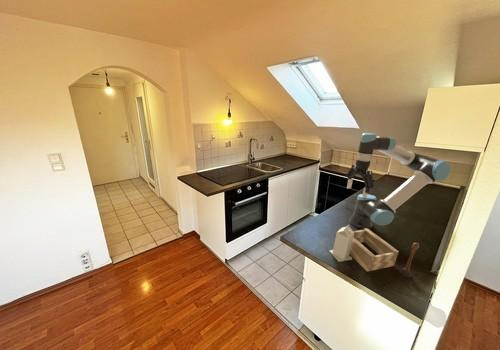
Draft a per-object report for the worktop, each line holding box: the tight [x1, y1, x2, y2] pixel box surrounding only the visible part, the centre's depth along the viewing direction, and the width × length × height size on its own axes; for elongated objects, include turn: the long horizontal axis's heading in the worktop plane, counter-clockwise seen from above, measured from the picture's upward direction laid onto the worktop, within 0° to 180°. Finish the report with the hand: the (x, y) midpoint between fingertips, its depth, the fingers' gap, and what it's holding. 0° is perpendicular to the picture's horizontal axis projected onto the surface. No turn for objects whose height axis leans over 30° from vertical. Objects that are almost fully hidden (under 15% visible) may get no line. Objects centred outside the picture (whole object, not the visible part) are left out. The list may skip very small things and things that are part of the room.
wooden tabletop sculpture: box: [399, 242, 420, 279], centre depth 106 cm, size 6×5×20 cm
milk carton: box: [331, 224, 354, 260], centre depth 118 cm, size 7×7×19 cm
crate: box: [349, 228, 400, 272], centre depth 120 cm, size 18×22×10 cm
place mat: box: [328, 249, 353, 263], centre depth 121 cm, size 9×9×1 cm
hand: (356, 192), depth 129 cm, fingers open, 13 cm apart
